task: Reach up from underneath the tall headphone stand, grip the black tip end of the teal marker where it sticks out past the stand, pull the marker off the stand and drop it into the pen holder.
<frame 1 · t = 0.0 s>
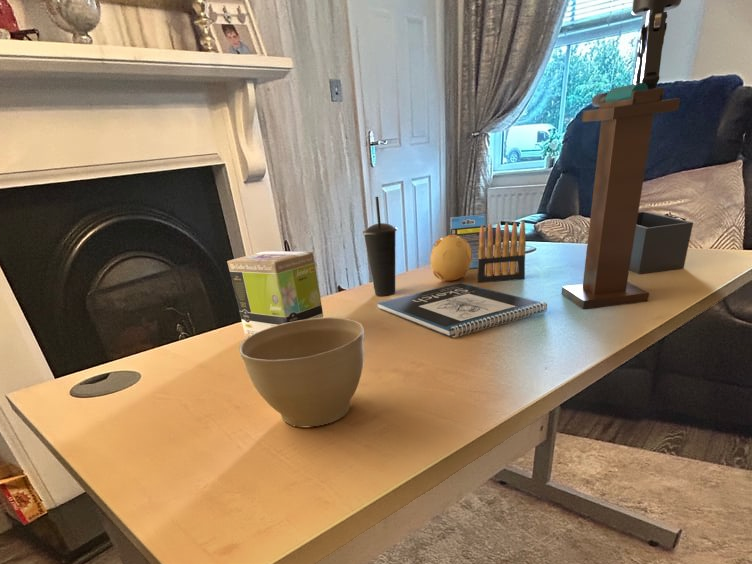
hand: (637, 134, 100), 25 cm above the table, tool pointing down, fingers open, 13 cm apart
stress ball: (451, 281, 129), on the table
pen holder: (638, 261, 122), on the table
label tape box: (468, 268, 138), on the table
headphone stand: (593, 292, 107), on the table
tea box: (285, 334, 108), on the table
drinking cup: (385, 294, 126), on the table
ammunition clip: (500, 280, 124), on the table
marker: (616, 106, 89), point 30 cm above the table, touching headphone stand
planter bowl: (315, 415, 74), on the table
sketchbook: (456, 311, 107), on the table
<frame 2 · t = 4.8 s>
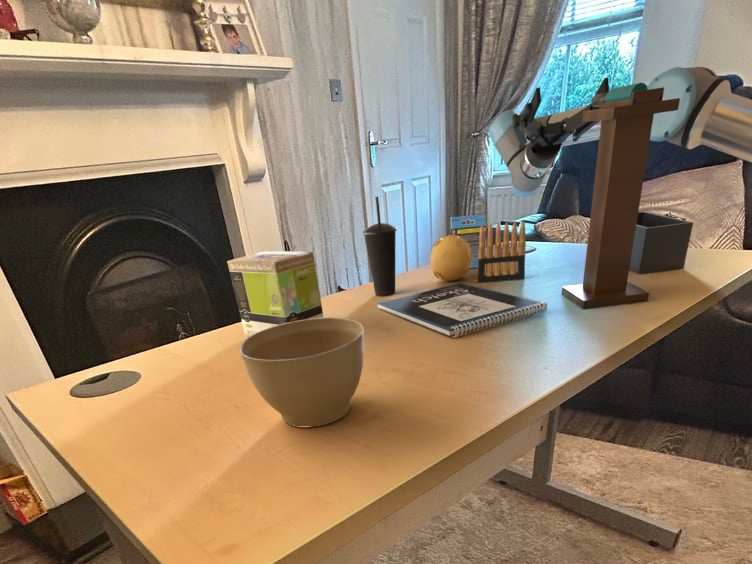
hand: (572, 89, 106), 34 cm above the table, tool pointing upward, fingers open, 13 cm apart
nothing on the table moved.
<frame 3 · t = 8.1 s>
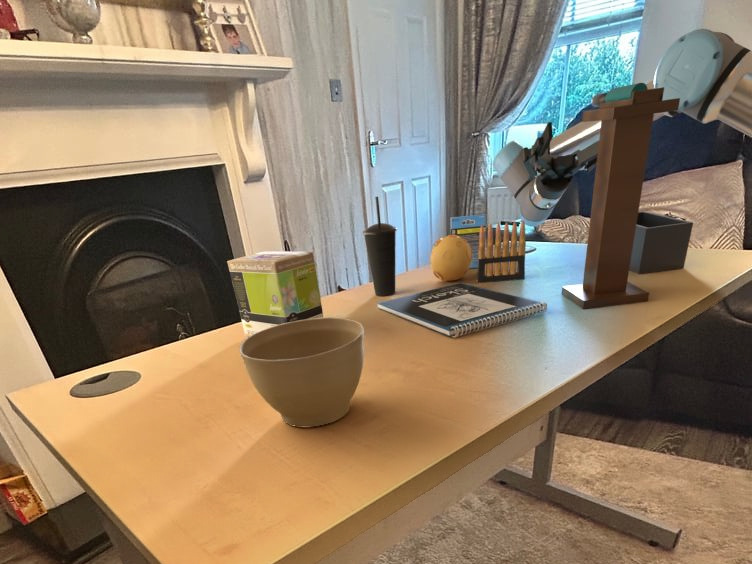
hand: (586, 124, 101), 28 cm above the table, tool pointing upward, fingers open, 13 cm apart
nothing on the table moved.
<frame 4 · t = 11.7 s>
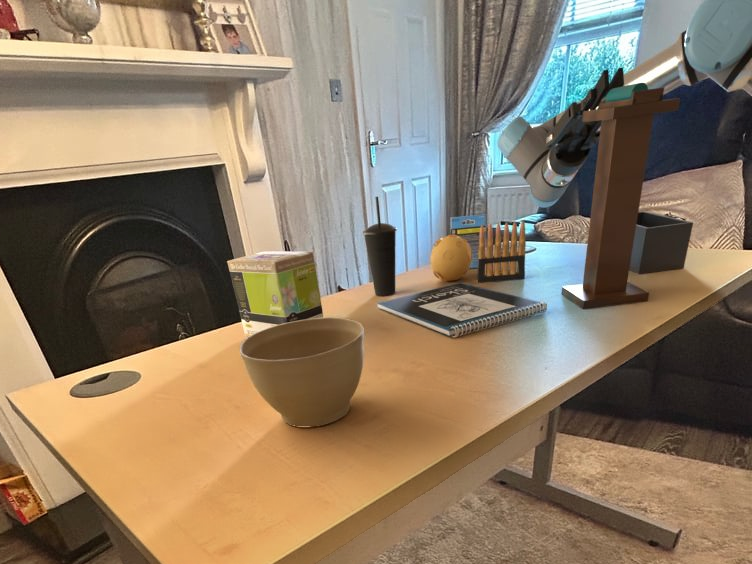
hand: (613, 77, 89), 34 cm above the table, tool pointing upward, fingers closed on marker, 2 cm apart
marker: (617, 106, 89), point 30 cm above the table, touching gripper, headphone stand
everything else where it was.
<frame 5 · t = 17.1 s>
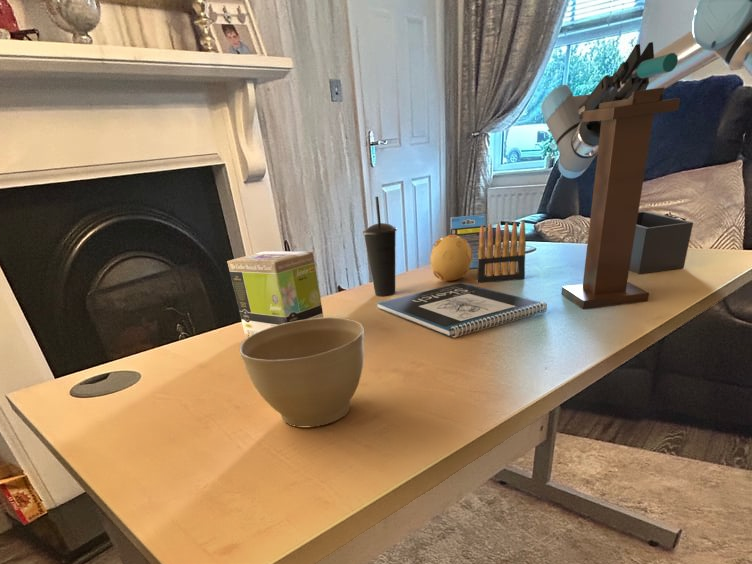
hand: (644, 51, 100), 38 cm above the table, tool pointing upward, fingers closed on marker, 2 cm apart
marker: (647, 76, 100), point 34 cm above the table, touching gripper
everything else where it was.
when the fingers open (23 cm above the table, at t = 22.4 s): marker drops 17 cm, resting on pen holder.
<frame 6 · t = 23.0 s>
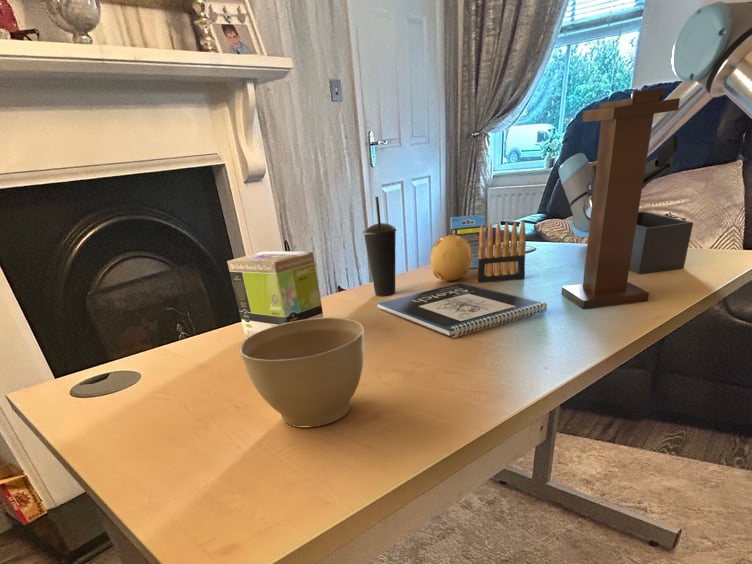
hand: (648, 146, 113), 22 cm above the table, tool pointing upward, fingers open, 11 cm apart
marker: (639, 252, 121), point 2 cm above the table, tilted 9°, touching pen holder
everything else where it was.
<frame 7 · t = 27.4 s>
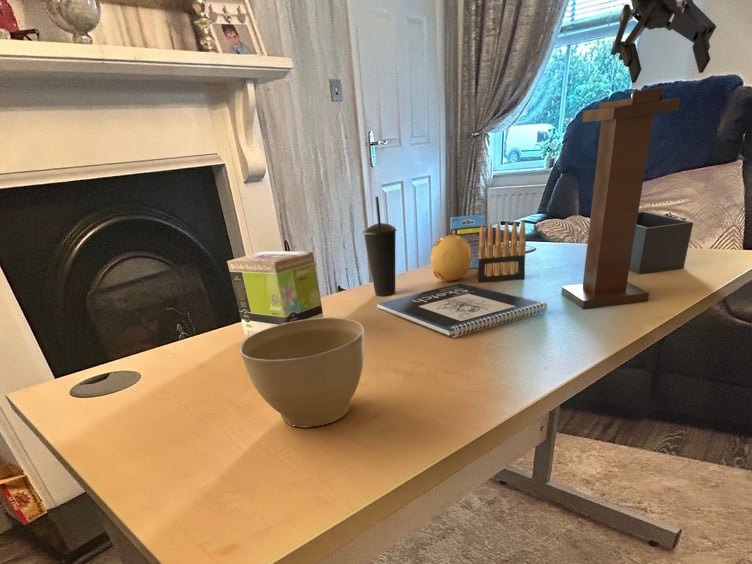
hand: (670, 71, 107), 34 cm above the table, tool tilted 45°, fingers open, 13 cm apart
nothing on the table moved.
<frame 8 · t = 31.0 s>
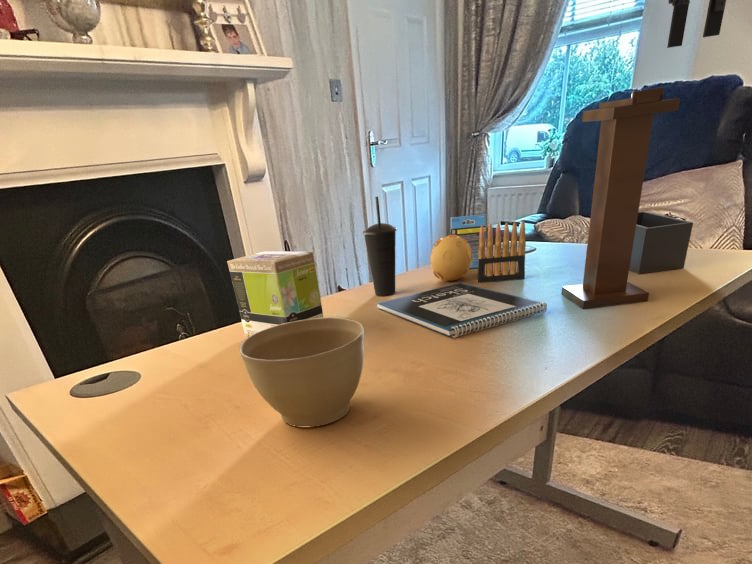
hand: (691, 42, 106), 39 cm above the table, tool pointing down, fingers open, 13 cm apart
nothing on the table moved.
at the end: marker inside the target area in the pen holder (0.3 cm from its centre), point 2.0 cm above the pen holder's base; the gripper is holding nothing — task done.
